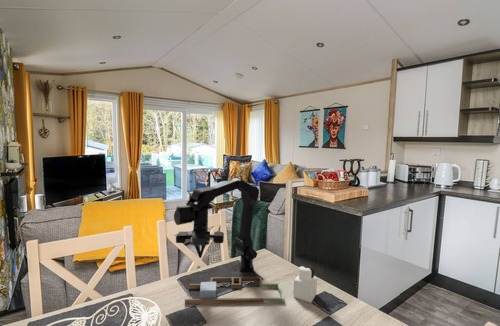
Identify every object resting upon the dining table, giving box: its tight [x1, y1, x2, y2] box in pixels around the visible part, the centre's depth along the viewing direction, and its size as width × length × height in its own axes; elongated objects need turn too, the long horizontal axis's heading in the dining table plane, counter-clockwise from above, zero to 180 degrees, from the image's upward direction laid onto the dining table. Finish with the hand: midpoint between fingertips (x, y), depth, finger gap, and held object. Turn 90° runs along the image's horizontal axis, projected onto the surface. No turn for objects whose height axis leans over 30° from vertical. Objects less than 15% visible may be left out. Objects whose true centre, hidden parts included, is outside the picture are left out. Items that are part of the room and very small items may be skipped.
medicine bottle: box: [293, 263, 318, 304], centre depth 102 cm, size 7×7×12 cm
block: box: [199, 281, 217, 299], centre depth 100 cm, size 6×6×4 cm
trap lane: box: [184, 276, 285, 305], centre depth 104 cm, size 16×37×2 cm, turn 94°
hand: (200, 257), depth 106 cm, fingers closed
